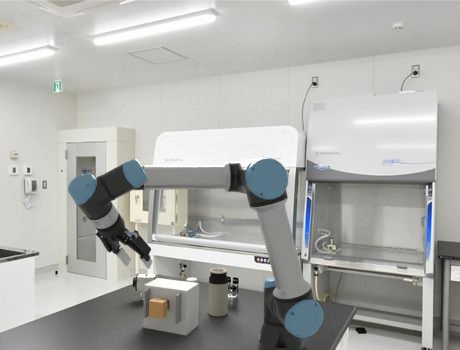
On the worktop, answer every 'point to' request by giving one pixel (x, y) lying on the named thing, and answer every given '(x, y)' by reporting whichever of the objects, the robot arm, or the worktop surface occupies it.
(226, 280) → the travel mug
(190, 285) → the box
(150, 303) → the button
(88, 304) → the worktop surface
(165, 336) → the worktop surface
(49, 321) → the worktop surface
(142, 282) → the pneumatic valve
